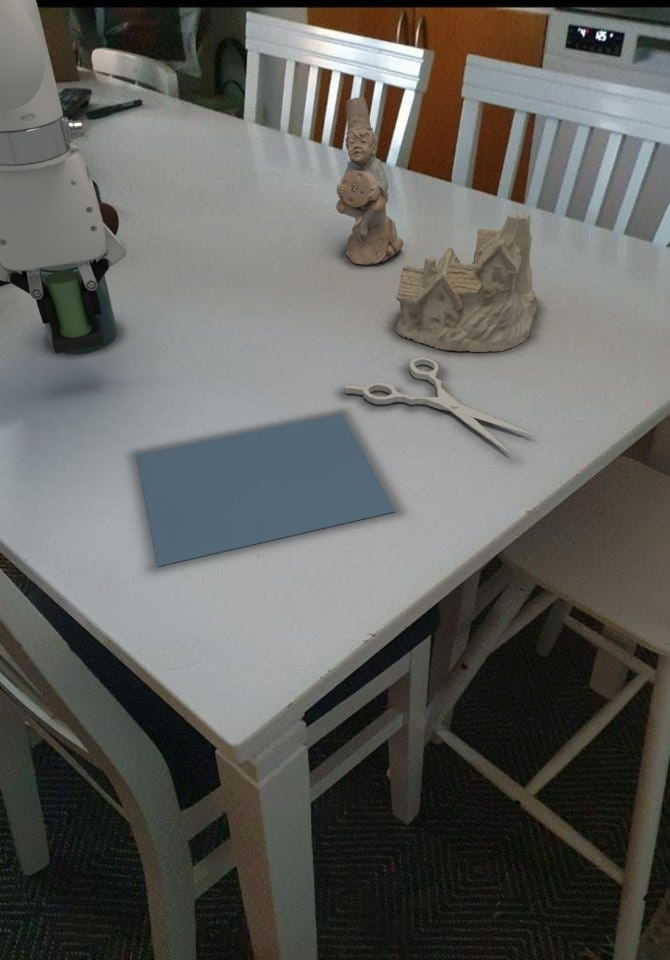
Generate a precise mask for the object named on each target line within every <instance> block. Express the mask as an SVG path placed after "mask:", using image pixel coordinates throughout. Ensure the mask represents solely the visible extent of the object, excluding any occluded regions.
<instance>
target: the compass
mask: <svg viewBox="0 0 670 960" xmlns="http://www.w3.org/2000/svg"><path fill="white" fill-rule="evenodd" d="M98 204H99V208H100V211H101V215H102V219H103V223H104V224H105V225H106V226H107V227H108V228H109V229H110V231H111V232H112V233H113V234H114V235H115V236H116V237H117V234H118V231H119V228H120V227H119V226H120V219H119V214H118V212H117V210H116V208H115V207H114V206H112V205H110V204H108V203H106V202H98Z"/></svg>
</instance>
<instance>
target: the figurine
mask: <svg viewBox="0 0 670 960" xmlns="http://www.w3.org/2000/svg"><path fill="white" fill-rule="evenodd" d="M345 110H346V126H347V129H346V130H347V131H346V133H345V135H346V137H345V148H346V150H347V155H348V157H349V160H348V162H347V166H346V169H345V171H344V173H343V176H342V177H341V179H340V180H341V181H340V183H339V184H337V186H336V193H337V195H338V198H339V199H338V200H337V201H336V205H335V207H336V208H335V209H336V211H337V212H338V213H339V214H341V215H346V216H349V217H350V218H354V219H355V223H354V224H353V227H351V234H349V236H348V237H347V241H346V244H347V246H348V248H347V250H346V252H345V255H346V256H347V257H348V258H349V260H350V261H351V262H352V263H353V264H355V265H372V264H374V265H375V264H378V263H383V262H384V261H386V260H388V259H390V258H391V257H393V256H394V255H395V254H396V253H397V252H399V251H402V249H403V246H404V240H403V239H402V238H400V237H398V232H397V227H396V223H395V221H394V220H393V219H392V218H390V217H389V216H387V208H386V205H387V203H388V201H389V196H390V195H389V194H388V189H389V183H388V178H387V175H386V172H385V169H384V167H383V164H382V160H381V159H379V158H377V156H376V153H377V150H378V142H379V138H378V135H377V133H375V131H374V129H373V127H372V124H371V121H370V120H371V119H370V115H369V109H368V104H367V100H366V98H365V97H359V96H358V97H353V98H350V99H347V101H346V104H345Z"/></svg>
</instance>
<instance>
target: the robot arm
mask: <svg viewBox="0 0 670 960" xmlns="http://www.w3.org/2000/svg"><path fill="white" fill-rule="evenodd" d="M52 65H53V64H52V62H51V57H50V53H49V49H48V44H47V41H46V37H45V31H44V28H43V23H42V19H41V14H40V11H39V6H38V2H37V0H0V281H2V282H5V283H7V282H8V283H11V284H12V285H13V286H15V287H16V288H18V289H20V290H22V291H24V292H25V293H27V294H29V295H30V297H31V298H33V299H34V300H35V302H36V305H37V308H38V312H39V316H40V319H41V322H42V324H43V325H45V324H47V323H49V324H50V327H51V331H52V334H57V333H58V332H60V331H59V325H58V322H57V318H56V314H55V311H54V307H53V304H52V300H51V297H50V294H49V291H48V287H47V285H46V283H44V282H42V276H41V269H40V268H47V267H54V266H60V265H67V264H73V263H76V264H77V266H78V269H79V271H80V274H81V281H82V282H81V287H82V289H81V291H82V296H83V300H84V304H85V308H86V312H87V316H88V320H89V323H90V326H92V327H98V326H97V320H96V315H100V314H102V311H101V307H100V302H99V298H98V294H97V290H96V288H97V286H98V283H99V282H100V280H101V279H102V277H103V276H104V275H105V276H106V274H107V272H108V271H109V269H110V268H111V267H112V266H114V265H115V264H116V263H118V262H119V261H121V260H122V259H123V258H124V257H126V255H127V251H126V248H125V245H124V244H123V243H122V242H121V241H120V239H119V238H118V237H117V235H116V236H115V235H114V234H113V233H112V232H111V231H110V229H109V228H108V227H107V226H106V225H105V224H104V223H103V219H102V215H101V211H100V208H99V204H98V203H99V201H98V197H97V194H96V189H95V185H94V183H93V180H92V177H91V174H90V171H89V168H88V166H87V165H88V164H87V162H86V159H85V158H84V156H83V153H82V151H81V149H80V147H79V146H78V145H75V144H72V143H73V142H74V141H73V140H76V139H78V138H80V137H85V132H84V128H83V123H82V120H81V119H78V120H73V119H69V118H68V117H67V116H64V112H63V109H62V105H61V104H62V103H61V99H60V96H59V91H58V87H57V82H56V79H55V74H54V69H53V66H52ZM91 260H94V261H93V262H91Z"/></svg>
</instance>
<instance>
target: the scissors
mask: <svg viewBox="0 0 670 960" xmlns="http://www.w3.org/2000/svg"><path fill="white" fill-rule="evenodd" d="M419 365H425V366H429V367H431V368H432V370H431V371H425V370H420V369H418V367H417V366H419ZM408 370H409V372H410V374H411V375H412V376H413V377H414V379H419V380H426V381H428V382H429V383H431V384H432V385H434V387H435V390H436V393H437V395H436V396H415V395H414V396H412V395H407V394H404V393H401V392H399V391H398V390H397V389H396V387H395V385H394V384H390V383H386V382H374V383H370V384H367V385H366V386H354V385H352V384H346V385H344V393H345V394H354V395H361V396H363V399H364V400H366V402H369V403H371V404H374V405H388V404H393V403H406V404H408V405H410V406H412V405H427V406H430V407H432V408H434V409H438V410H441V411H449V412H450V413H451V414H453V415H454V416H456V417H457V418H458V419H459V420H461V421H462V422H463V423H465V424H466V425H468V426H469V427H470V428H471V429H473V430H475V431H476V432H477V433H479V434H480V435H481V436H483V437H485V438H486V440H489V441H490V442H492V443H493V444H494V445H496V446H498V447H499V448H500V449H501V450H503V451H505V452H507V453H508V454H510V455H511V456H515V455H514V454H513V453H512V452H511V451H510V450H508V449H507V448H506V447H505V446H504V444H502V443H501V442H500V441H499V440H498V439H497V438H496V437H495V436H494V435H493V434H492V433H490V431H488V430H487V429H485V427H483V426H482V425H481V423H479V421H477V420H476V419H478V420H481V421H484V422H487V423H491V424H494V425H498V426H501V427H504V428H508V429H512V430H515V431H518V432H522V433H524V434H525V433H526V434H528V435H532V436H536V437H537V435H536V434H534V433H532V432H529V431H528V430H525V429H522V428H520V427H517V426H515V425H513V424H510V423H508V422H506V421H503V420H501V419H499V418H497V417H494V416H491V415H489V414H486V413H484V412H481V411H479V410H476V409H473V408H470V407H468V406H466V405H462V404H461V403H460V402H458V400H457V399H456V398H454V397H453V396H452V395H450V394H449V393H448V392H447V391H446V390H445V389H444V388H443V387H442V383H443V382H442V380H440V379H439V378H437V377H438V376H439V364H438V363H437V362H436V361H435V360H433V359H431V358H428V357H414V358H413V359H411V360H410V361H409V365H408ZM374 391H375V392H376V391H382V392H386V393H387V394H388V395H387V396H377V395H375V394H373V393H372V392H374Z"/></svg>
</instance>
